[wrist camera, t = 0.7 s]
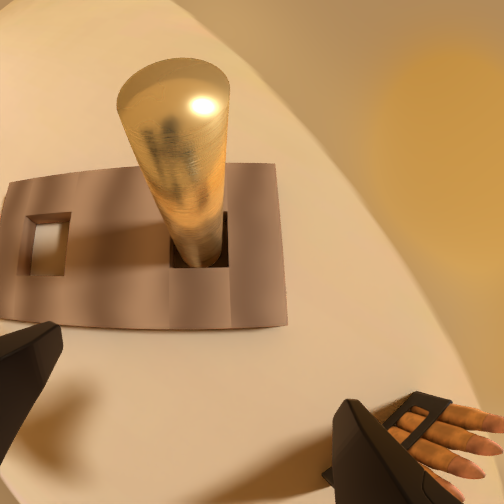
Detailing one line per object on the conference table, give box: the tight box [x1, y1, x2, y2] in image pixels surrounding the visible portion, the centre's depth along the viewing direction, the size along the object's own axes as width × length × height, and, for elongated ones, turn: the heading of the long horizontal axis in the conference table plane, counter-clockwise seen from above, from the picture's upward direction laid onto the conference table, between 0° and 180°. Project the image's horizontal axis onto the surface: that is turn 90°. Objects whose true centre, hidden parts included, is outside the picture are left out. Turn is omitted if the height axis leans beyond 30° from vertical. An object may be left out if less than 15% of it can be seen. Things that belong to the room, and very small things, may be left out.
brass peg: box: [117, 58, 230, 268], centre depth 14 cm, size 3×3×16 cm
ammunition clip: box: [322, 391, 504, 502], centre depth 13 cm, size 11×2×12 cm, turn 125°
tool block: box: [0, 163, 288, 329], centre depth 20 cm, size 24×12×2 cm, turn 93°
